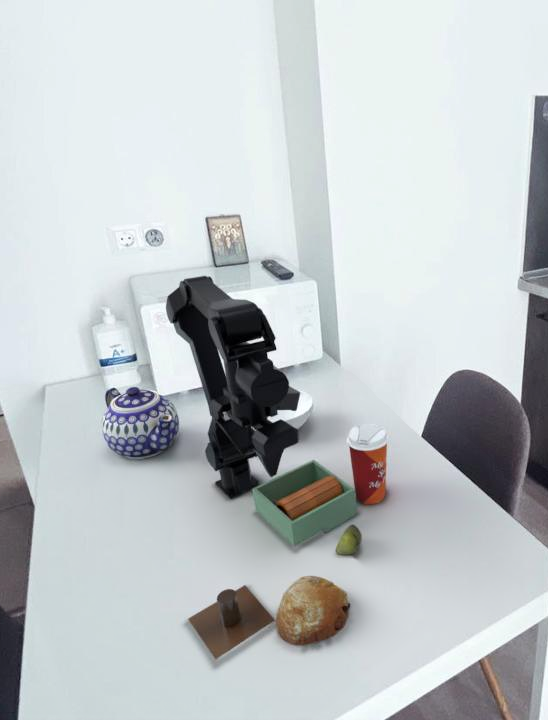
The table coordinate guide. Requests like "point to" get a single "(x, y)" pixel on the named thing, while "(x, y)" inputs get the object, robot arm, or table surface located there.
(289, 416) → the bowl
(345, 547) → the lime
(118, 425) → the teapot
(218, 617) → the stand
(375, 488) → the paper cup
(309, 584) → the bread roll
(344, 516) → the bin
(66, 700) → the table surface
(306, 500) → the slatted orange pencil cup
